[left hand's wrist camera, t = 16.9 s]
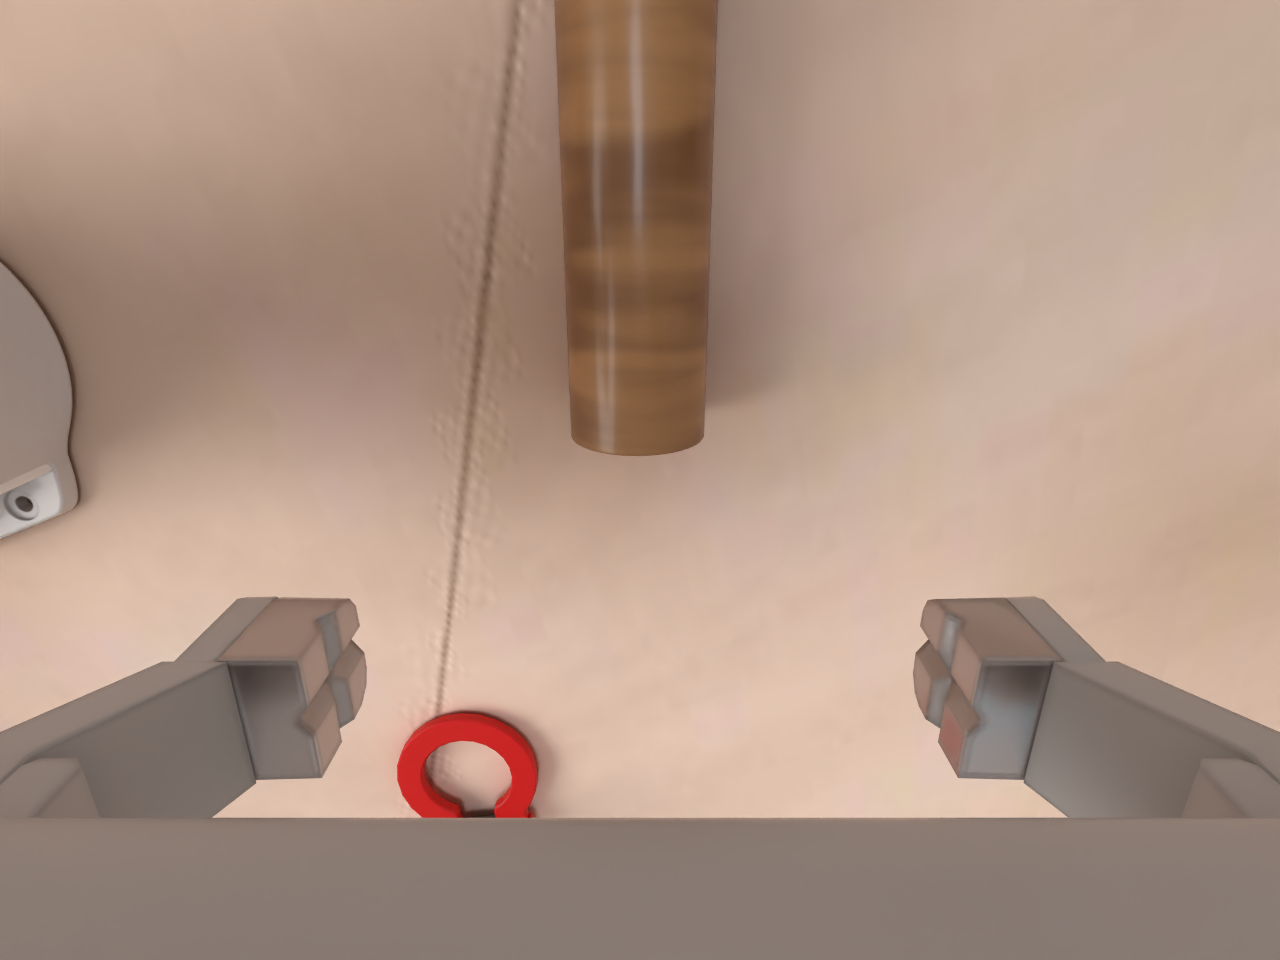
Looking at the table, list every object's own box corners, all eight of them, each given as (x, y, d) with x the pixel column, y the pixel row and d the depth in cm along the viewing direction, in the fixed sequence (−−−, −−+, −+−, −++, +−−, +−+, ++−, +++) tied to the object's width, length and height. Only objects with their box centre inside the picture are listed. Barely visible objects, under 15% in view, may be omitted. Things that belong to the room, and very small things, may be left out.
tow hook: (388, 716, 44) (422, 836, 47) (291, 902, 31) (344, 1050, 34) (526, 701, 43) (551, 823, 46) (482, 884, 31) (519, 1034, 34)
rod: (698, 415, 37) (710, 456, 31) (576, 415, 37) (565, 457, 31) (716, -232, 27) (738, -345, 22) (553, -232, 27) (532, -346, 22)
